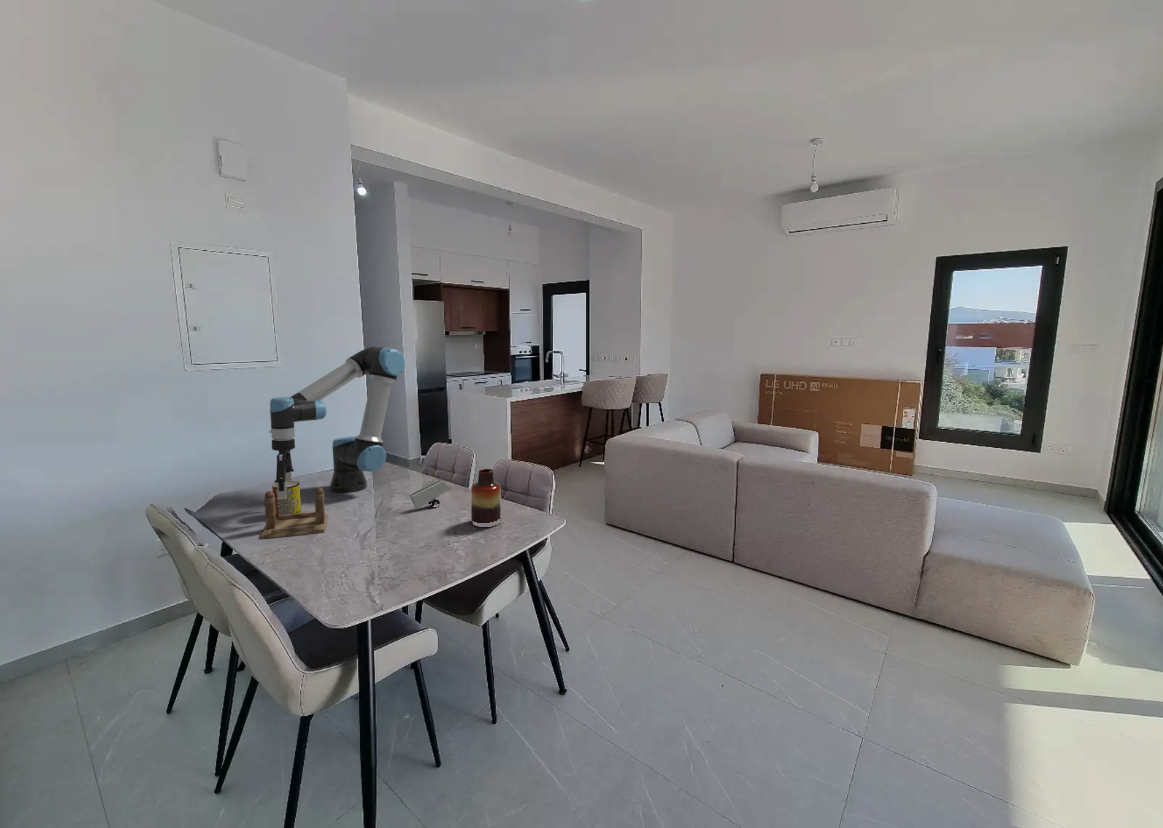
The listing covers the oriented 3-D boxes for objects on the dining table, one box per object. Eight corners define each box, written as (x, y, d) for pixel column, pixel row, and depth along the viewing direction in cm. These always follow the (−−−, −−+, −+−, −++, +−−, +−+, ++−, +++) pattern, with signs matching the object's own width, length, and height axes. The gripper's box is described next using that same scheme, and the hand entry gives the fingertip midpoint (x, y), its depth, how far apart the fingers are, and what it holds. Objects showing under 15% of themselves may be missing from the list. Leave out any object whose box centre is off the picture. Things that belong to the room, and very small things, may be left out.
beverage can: (270, 514, 196) (268, 483, 194) (296, 508, 202) (294, 479, 200) (278, 520, 190) (276, 489, 188) (304, 514, 196) (303, 484, 194)
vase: (506, 523, 194) (506, 470, 190) (482, 530, 186) (482, 476, 183) (488, 515, 201) (489, 465, 198) (465, 522, 193) (465, 470, 190)
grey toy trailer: (421, 517, 204) (453, 497, 212) (412, 496, 200) (445, 477, 209) (417, 514, 207) (448, 494, 215) (408, 494, 203) (440, 475, 212)
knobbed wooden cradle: (327, 517, 194) (326, 481, 191) (324, 532, 180) (322, 493, 178) (270, 523, 186) (267, 485, 184) (261, 538, 173) (258, 498, 171)
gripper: (277, 433, 201) (279, 485, 204) (264, 445, 179) (267, 504, 181) (299, 432, 204) (300, 484, 207) (289, 445, 181) (291, 502, 184)
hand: (285, 493), depth 194 cm, fingers open, 13 cm apart
